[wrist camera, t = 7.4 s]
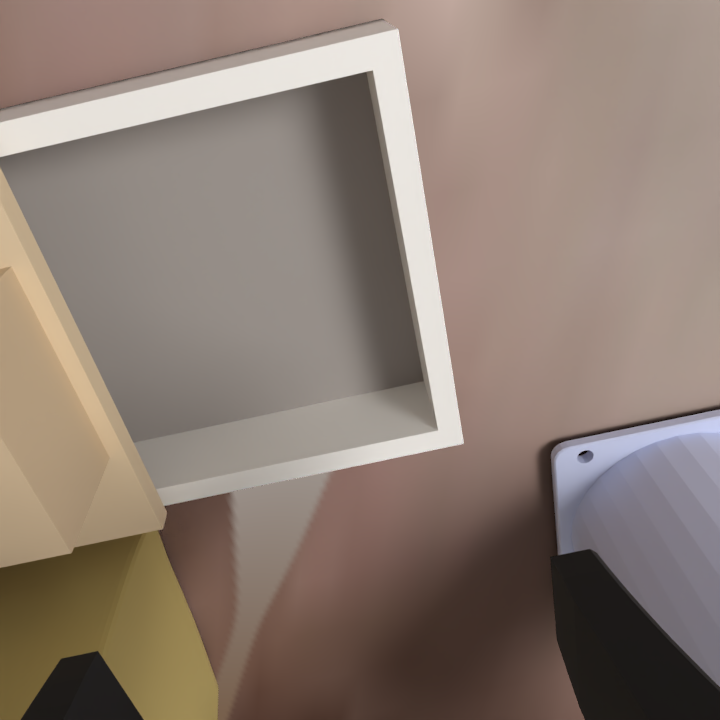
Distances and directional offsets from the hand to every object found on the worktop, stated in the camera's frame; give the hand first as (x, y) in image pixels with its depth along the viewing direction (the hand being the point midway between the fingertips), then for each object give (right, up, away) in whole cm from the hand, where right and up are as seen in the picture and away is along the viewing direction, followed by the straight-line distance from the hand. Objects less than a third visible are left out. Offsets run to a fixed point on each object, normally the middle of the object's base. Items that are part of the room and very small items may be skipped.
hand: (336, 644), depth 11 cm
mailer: (-4, +7, +7) cm, 11 cm away
